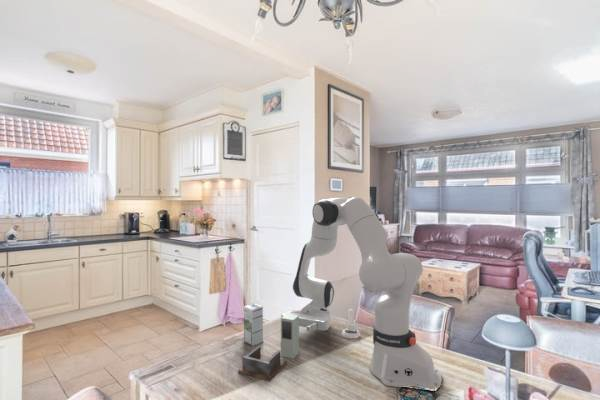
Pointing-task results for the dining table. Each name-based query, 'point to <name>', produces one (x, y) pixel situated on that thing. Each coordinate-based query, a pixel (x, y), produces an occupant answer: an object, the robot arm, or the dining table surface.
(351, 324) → the white vr controller
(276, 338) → the dining table surface
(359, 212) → the robot arm
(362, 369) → the dining table surface
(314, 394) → the dining table surface
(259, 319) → the syrup box
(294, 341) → the pale green block
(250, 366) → the bracket socket
